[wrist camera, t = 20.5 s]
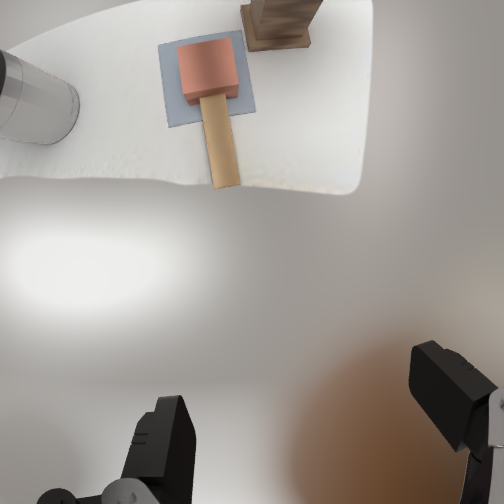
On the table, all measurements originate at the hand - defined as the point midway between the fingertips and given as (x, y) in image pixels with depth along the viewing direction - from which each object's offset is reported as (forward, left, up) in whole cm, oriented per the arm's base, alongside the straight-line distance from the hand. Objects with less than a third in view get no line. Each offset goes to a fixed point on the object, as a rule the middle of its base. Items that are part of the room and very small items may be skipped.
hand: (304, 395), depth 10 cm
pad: (-2, +21, -32) cm, 38 cm away
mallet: (-2, +15, -32) cm, 35 cm away
